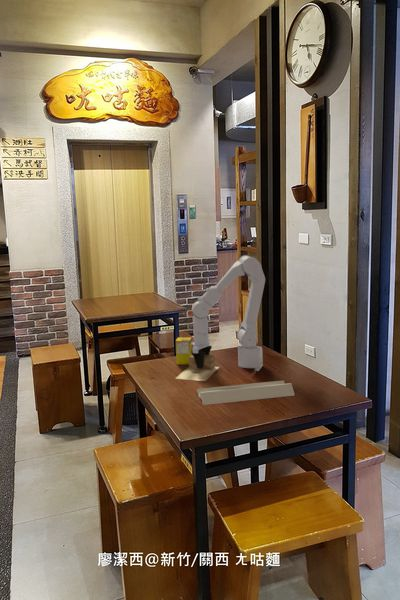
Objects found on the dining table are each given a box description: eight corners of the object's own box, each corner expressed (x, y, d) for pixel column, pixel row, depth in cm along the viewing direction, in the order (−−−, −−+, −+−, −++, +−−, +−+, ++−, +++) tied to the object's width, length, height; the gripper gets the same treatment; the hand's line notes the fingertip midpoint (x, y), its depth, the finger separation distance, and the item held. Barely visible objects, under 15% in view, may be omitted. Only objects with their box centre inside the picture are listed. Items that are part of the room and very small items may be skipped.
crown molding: (282, 385, 176) (282, 376, 176) (295, 398, 165) (295, 387, 164) (196, 394, 171) (196, 384, 170) (203, 407, 159) (203, 396, 158)
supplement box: (192, 362, 205) (191, 336, 203) (191, 366, 199) (190, 340, 198) (178, 362, 206) (177, 336, 204) (176, 366, 200) (175, 340, 198)
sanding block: (215, 367, 194) (214, 355, 193) (211, 371, 189) (210, 358, 189) (193, 366, 197) (193, 353, 196) (189, 369, 193) (189, 357, 192)
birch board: (219, 369, 194) (219, 367, 194) (205, 383, 179) (205, 381, 179) (191, 367, 199) (191, 364, 198) (174, 381, 183) (174, 378, 183)
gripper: (197, 327, 199) (198, 360, 201) (184, 336, 185) (185, 371, 188) (214, 328, 196) (215, 361, 199) (202, 337, 183) (203, 372, 185)
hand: (202, 366), depth 193 cm, fingers closed on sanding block, 4 cm apart
